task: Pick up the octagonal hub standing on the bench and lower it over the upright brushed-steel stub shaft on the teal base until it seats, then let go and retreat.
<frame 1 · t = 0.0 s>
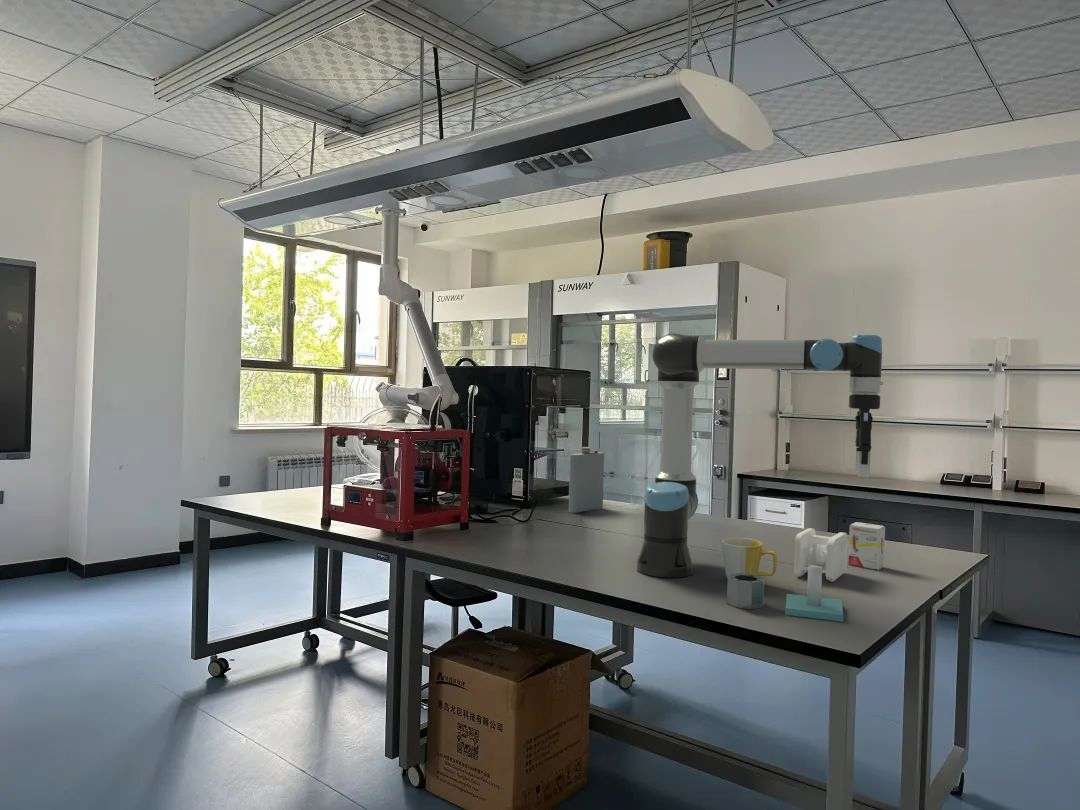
hand: (861, 474, 197), 28 cm above the table, fingers open, 13 cm apart
mug: (747, 583, 191), on the table
cable organizer: (821, 576, 200), on the table
hub: (745, 603, 173), on the table
shaft block: (813, 610, 169), on the table
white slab: (585, 510, 295), on the table
ink box: (865, 566, 212), on the table
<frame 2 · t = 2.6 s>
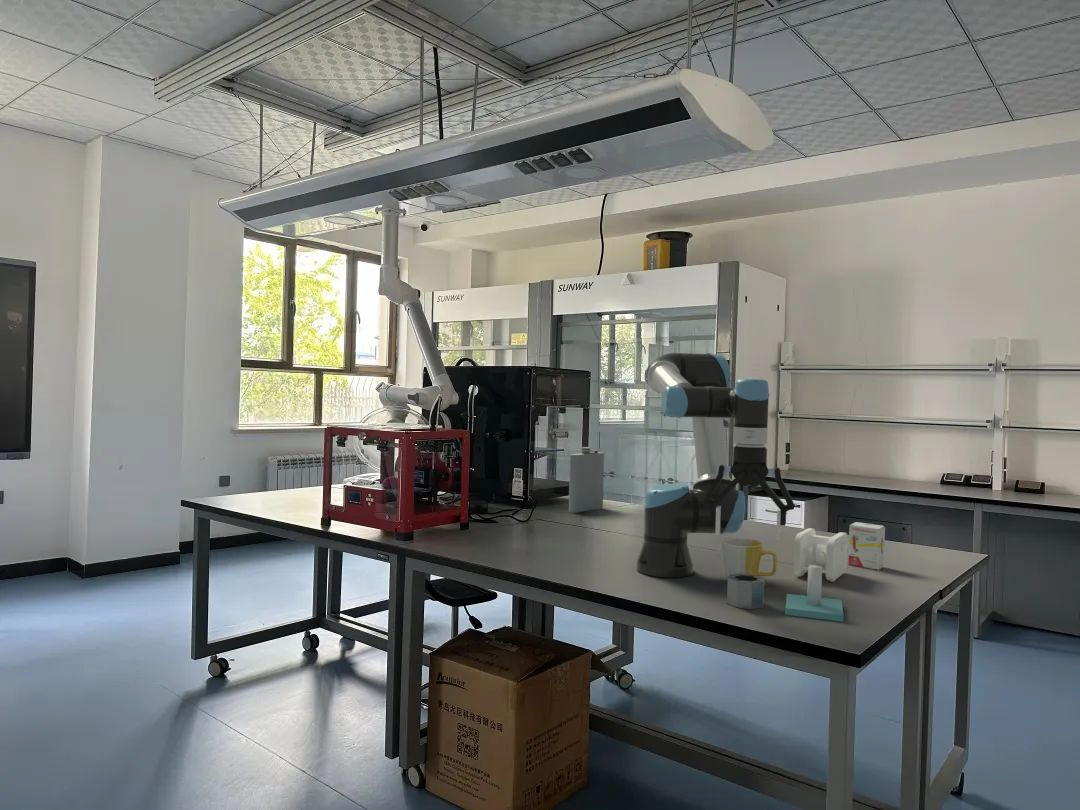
hand: (747, 536, 173), 16 cm above the table, fingers open, 13 cm apart
nothing on the table moved.
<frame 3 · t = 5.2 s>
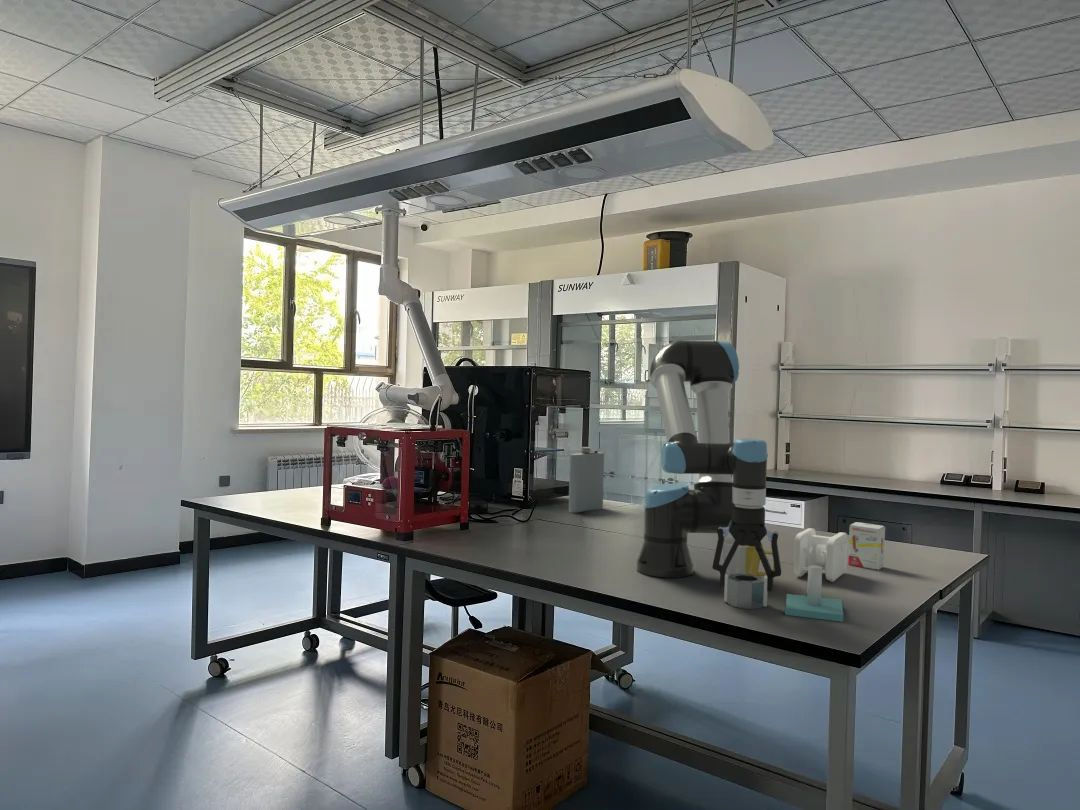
hand: (745, 602, 173), 0 cm above the table, fingers closed on hub, 8 cm apart
hub: (745, 603, 173), on the table, touching gripper
everything else where it was.
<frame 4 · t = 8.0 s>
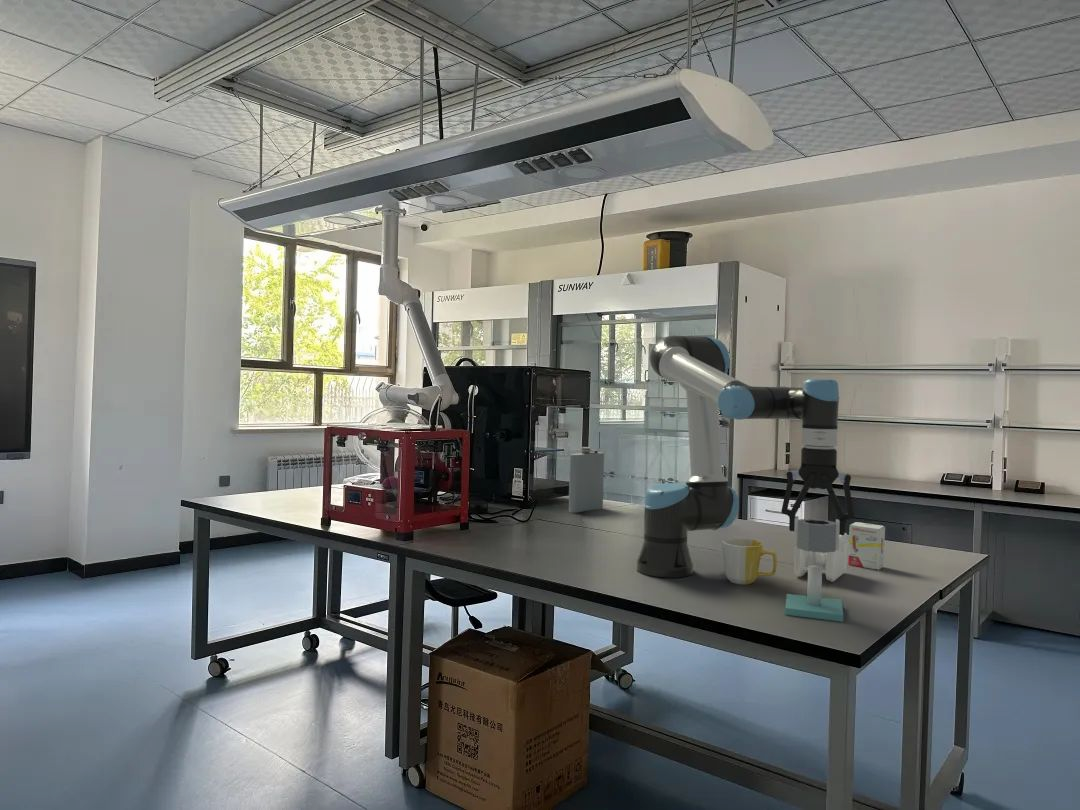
hand: (816, 547, 169), 15 cm above the table, fingers closed on hub, 8 cm apart
hub: (816, 548, 168), point 14 cm above the table, touching gripper
everything else where it was.
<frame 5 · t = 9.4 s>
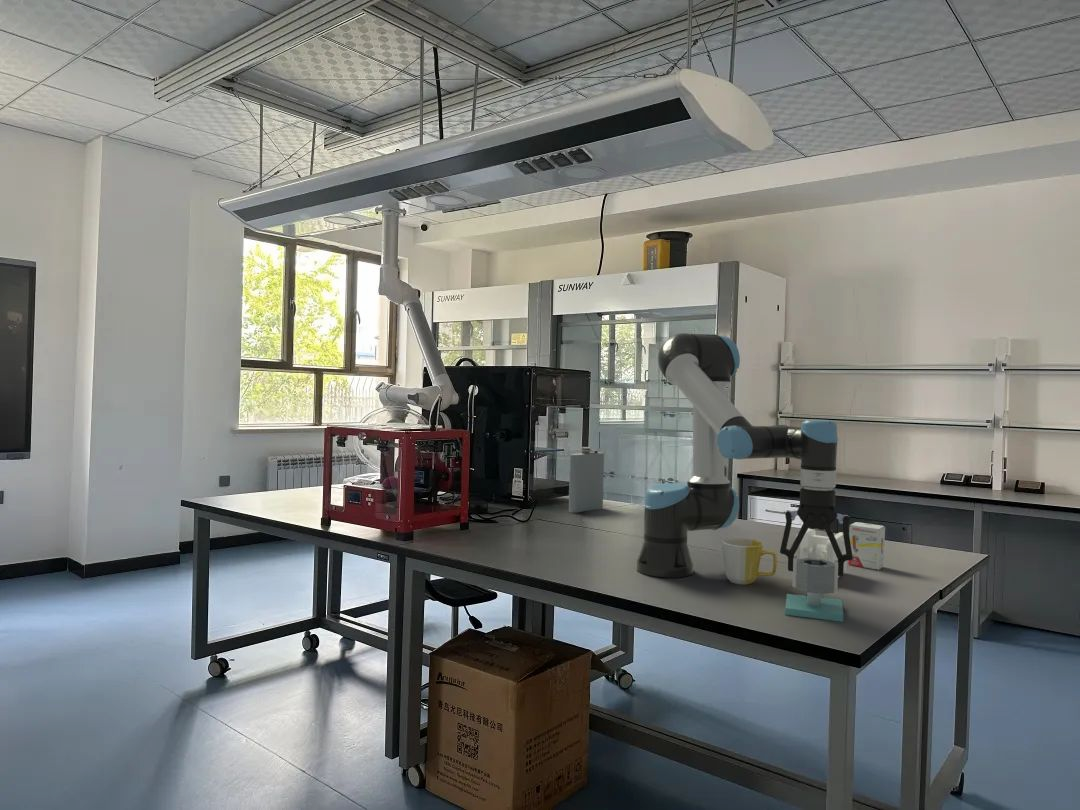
hand: (814, 587, 169), 5 cm above the table, fingers closed on hub, 8 cm apart
hub: (814, 588, 169), point 5 cm above the table, touching gripper
everything else where it was.
when the fingers open (4 cm above the table, at t = 10.5 s): hub drops 2 cm, resting on shaft block.
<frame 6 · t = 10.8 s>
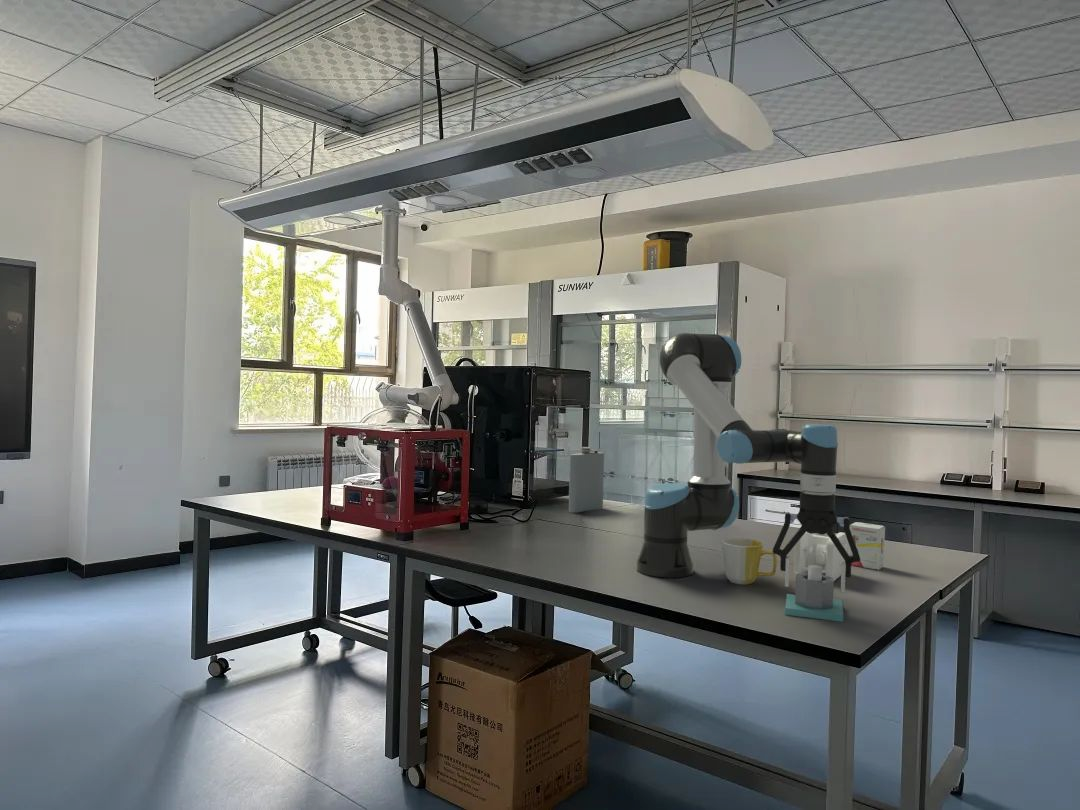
hand: (814, 588, 169), 5 cm above the table, fingers open, 11 cm apart
hub: (813, 604, 169), point 1 cm above the table, touching shaft block
everything else where it was.
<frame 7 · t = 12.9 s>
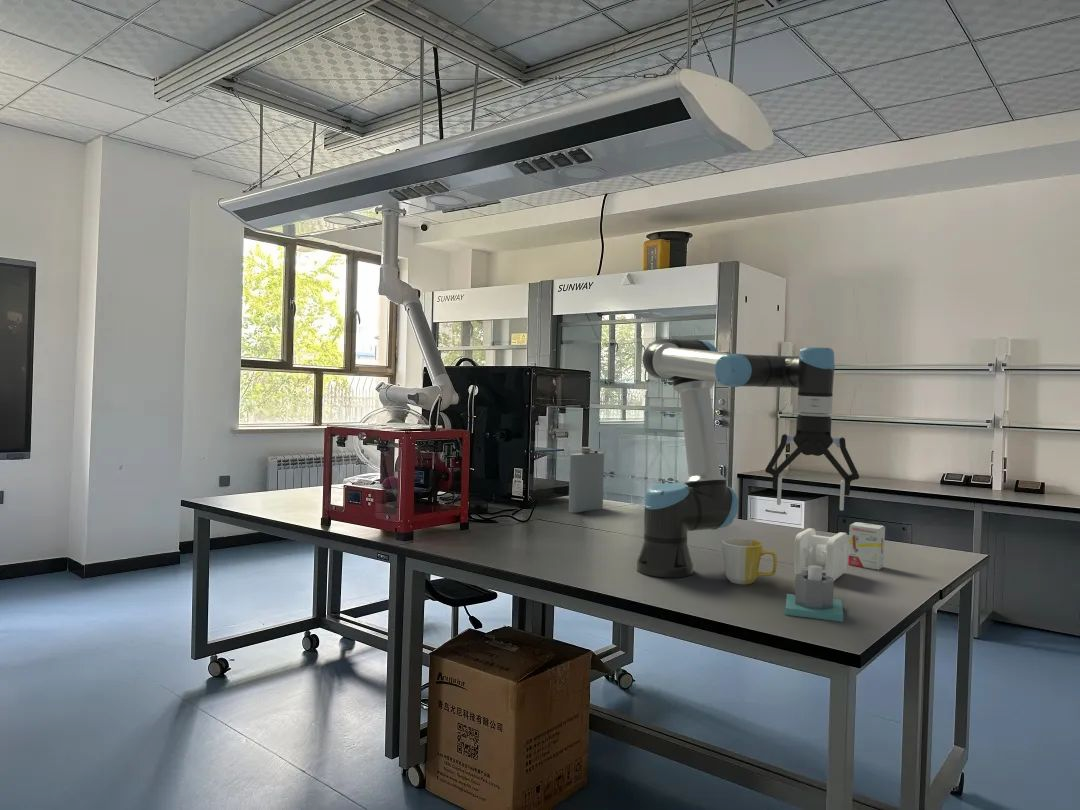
hand: (809, 506, 171), 23 cm above the table, fingers open, 13 cm apart
nothing on the table moved.
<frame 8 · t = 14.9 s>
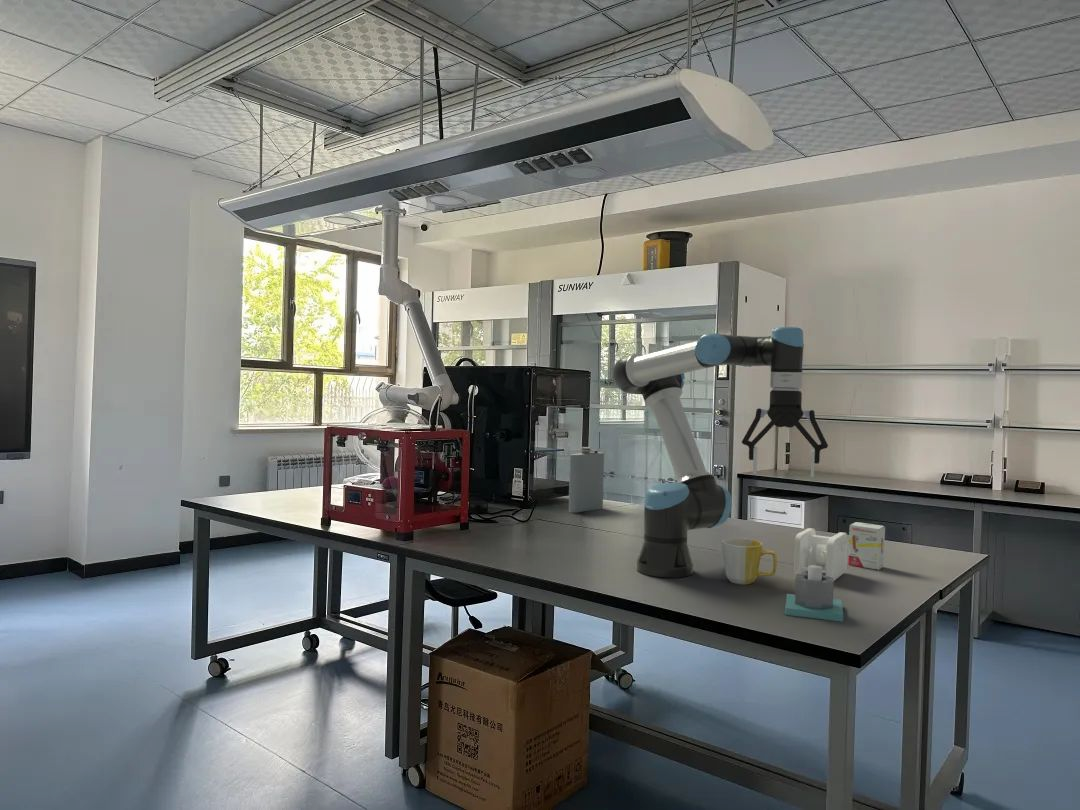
hand: (783, 475, 185), 29 cm above the table, fingers open, 13 cm apart
nothing on the table moved.
at the end: hub 0.1 cm off-centre on the shaft block, point 1.5 cm above the shaft block's base; hub tilted 0°; the gripper is holding nothing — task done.
